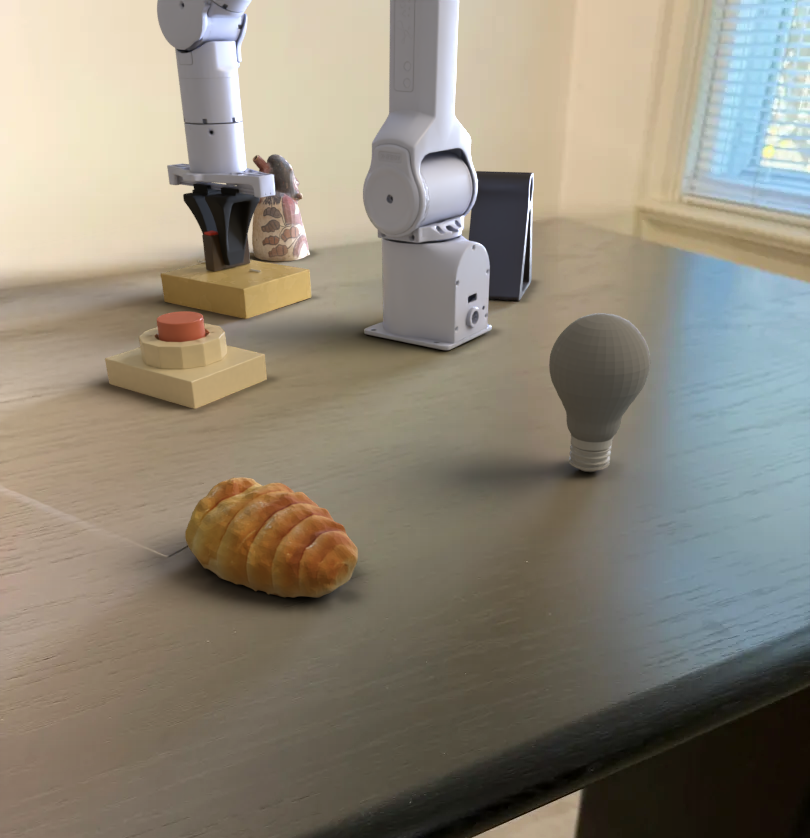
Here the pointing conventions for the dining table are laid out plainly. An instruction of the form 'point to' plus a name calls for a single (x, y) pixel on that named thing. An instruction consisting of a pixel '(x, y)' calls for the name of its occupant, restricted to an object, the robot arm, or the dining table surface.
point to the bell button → (180, 326)
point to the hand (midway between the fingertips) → (228, 262)
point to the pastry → (270, 539)
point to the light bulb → (597, 382)
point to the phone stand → (505, 230)
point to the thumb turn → (218, 252)
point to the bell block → (186, 368)
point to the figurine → (279, 215)
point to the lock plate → (237, 288)
